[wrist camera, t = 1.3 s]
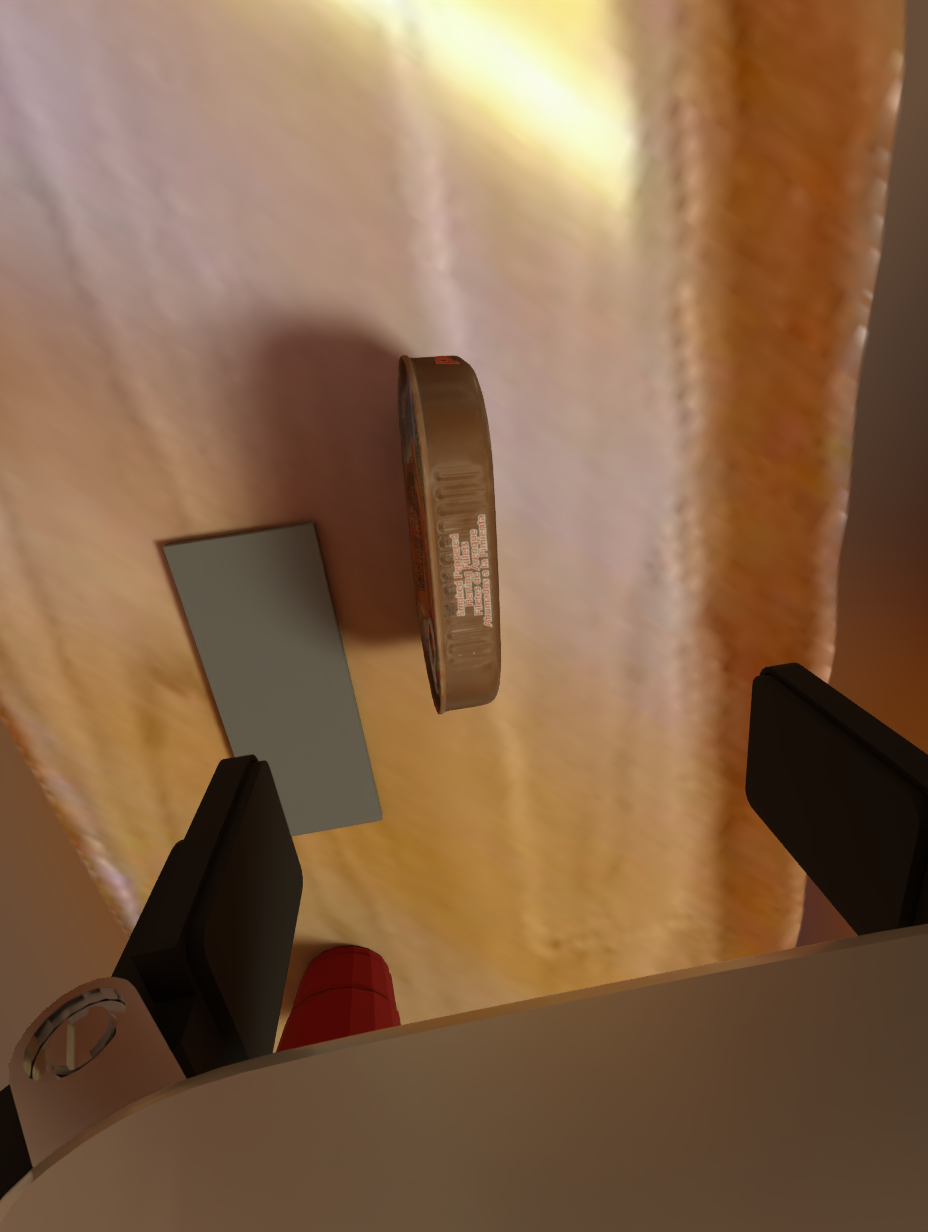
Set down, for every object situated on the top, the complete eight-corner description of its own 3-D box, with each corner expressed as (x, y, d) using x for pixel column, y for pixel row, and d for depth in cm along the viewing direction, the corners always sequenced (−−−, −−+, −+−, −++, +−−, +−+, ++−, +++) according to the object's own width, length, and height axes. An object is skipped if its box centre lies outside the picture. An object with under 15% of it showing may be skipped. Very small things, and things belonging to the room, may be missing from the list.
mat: (166, 544, 28) (162, 547, 27) (314, 521, 28) (313, 524, 28) (265, 835, 35) (263, 841, 34) (382, 814, 35) (382, 820, 35)
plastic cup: (240, 937, 38) (177, 1170, 27) (405, 901, 38) (410, 1116, 27) (287, 1042, 42) (250, 1280, 31) (436, 1009, 42) (451, 1232, 31)
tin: (392, 358, 26) (392, 352, 18) (463, 354, 26) (492, 345, 18) (421, 661, 32) (431, 754, 24) (479, 655, 32) (507, 745, 24)
